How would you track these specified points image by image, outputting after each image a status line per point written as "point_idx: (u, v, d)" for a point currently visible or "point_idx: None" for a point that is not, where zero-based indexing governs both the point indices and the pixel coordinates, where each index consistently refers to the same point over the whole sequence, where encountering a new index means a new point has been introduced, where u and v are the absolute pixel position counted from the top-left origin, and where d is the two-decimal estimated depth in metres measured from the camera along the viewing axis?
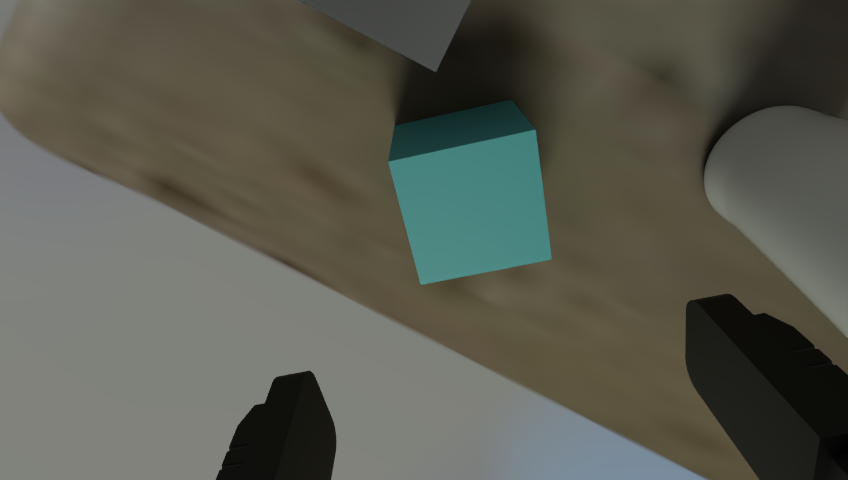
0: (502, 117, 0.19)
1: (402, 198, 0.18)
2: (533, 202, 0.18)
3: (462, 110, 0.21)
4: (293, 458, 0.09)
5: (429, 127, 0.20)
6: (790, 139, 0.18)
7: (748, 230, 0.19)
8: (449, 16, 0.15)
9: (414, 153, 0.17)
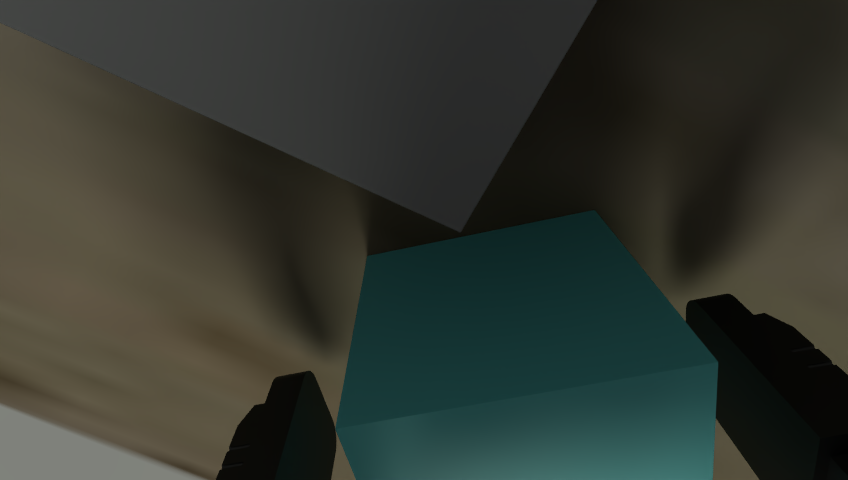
0: (597, 275, 0.09)
1: None
2: None
3: (498, 229, 0.11)
4: (294, 458, 0.09)
5: (435, 280, 0.10)
6: None
7: None
8: (507, 80, 0.05)
9: (402, 402, 0.07)
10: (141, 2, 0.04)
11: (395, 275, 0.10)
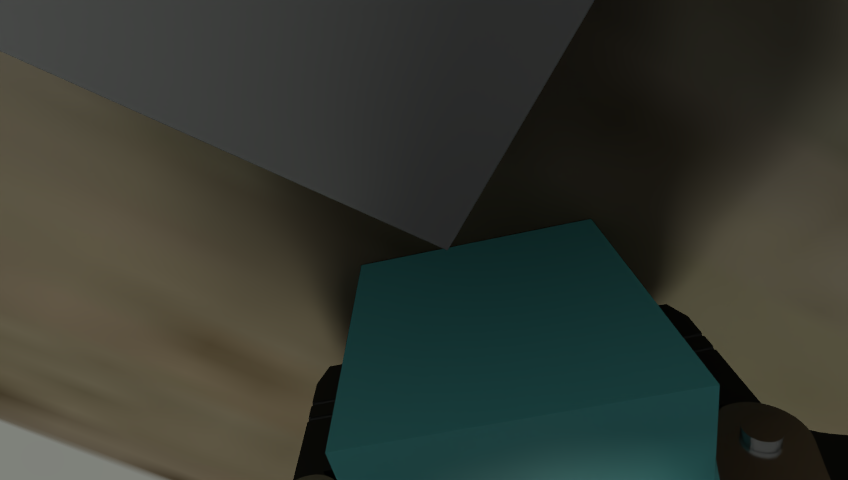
0: (594, 290, 0.08)
1: None
2: None
3: (494, 240, 0.11)
4: None
5: (429, 293, 0.09)
6: None
7: None
8: (493, 98, 0.05)
9: (394, 425, 0.07)
10: (120, 21, 0.04)
11: (389, 288, 0.10)
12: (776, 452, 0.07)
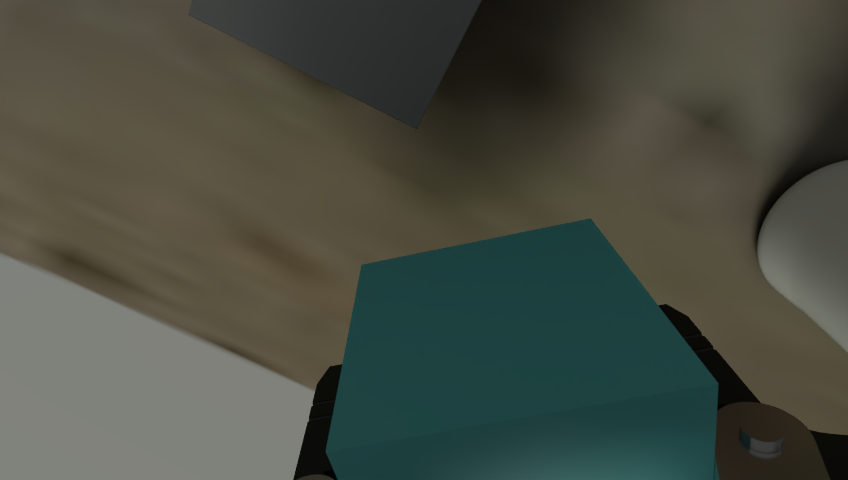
0: (594, 289, 0.08)
1: None
2: None
3: (494, 239, 0.11)
4: None
5: (429, 293, 0.09)
6: None
7: (832, 326, 0.14)
8: (436, 51, 0.10)
9: (395, 424, 0.07)
10: (270, 15, 0.10)
11: (389, 287, 0.10)
12: (776, 452, 0.07)
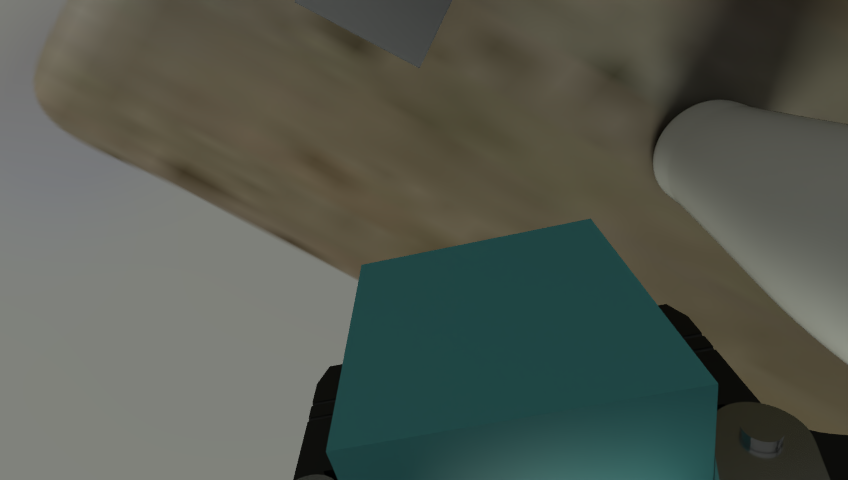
0: (594, 289, 0.08)
1: None
2: None
3: (494, 240, 0.11)
4: None
5: (429, 293, 0.09)
6: (716, 125, 0.21)
7: (686, 203, 0.23)
8: (430, 22, 0.18)
9: (395, 424, 0.07)
10: (339, 2, 0.18)
11: (389, 287, 0.10)
12: (776, 452, 0.07)
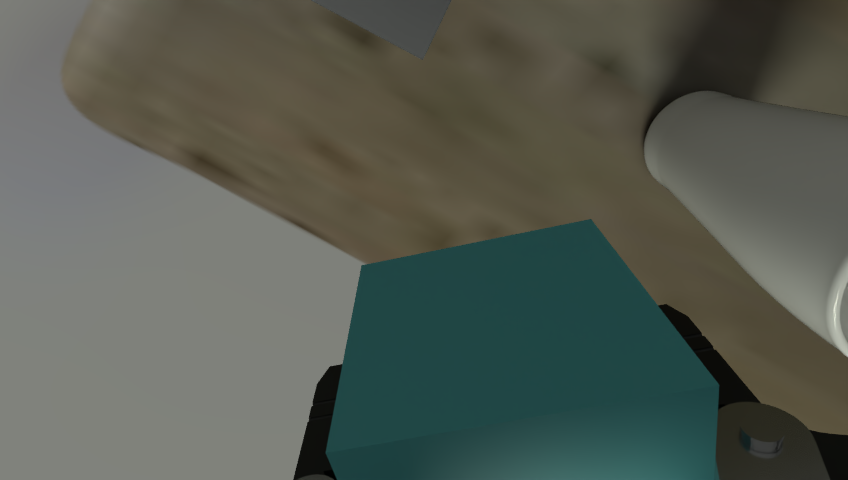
0: (594, 290, 0.08)
1: None
2: None
3: (494, 240, 0.11)
4: None
5: (430, 293, 0.09)
6: (701, 114, 0.23)
7: (673, 188, 0.24)
8: (432, 17, 0.20)
9: (395, 425, 0.07)
10: None
11: (389, 288, 0.10)
12: (776, 452, 0.07)
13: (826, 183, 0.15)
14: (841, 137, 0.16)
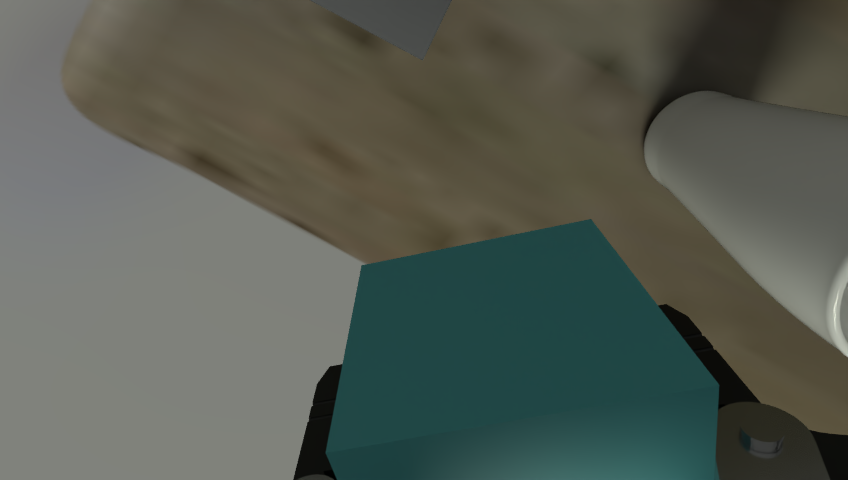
0: (594, 290, 0.08)
1: None
2: None
3: (494, 240, 0.11)
4: None
5: (430, 293, 0.09)
6: (701, 114, 0.23)
7: (673, 188, 0.24)
8: (432, 17, 0.20)
9: (395, 425, 0.07)
10: None
11: (389, 288, 0.10)
12: (776, 452, 0.07)
13: (826, 183, 0.15)
14: (841, 137, 0.16)
